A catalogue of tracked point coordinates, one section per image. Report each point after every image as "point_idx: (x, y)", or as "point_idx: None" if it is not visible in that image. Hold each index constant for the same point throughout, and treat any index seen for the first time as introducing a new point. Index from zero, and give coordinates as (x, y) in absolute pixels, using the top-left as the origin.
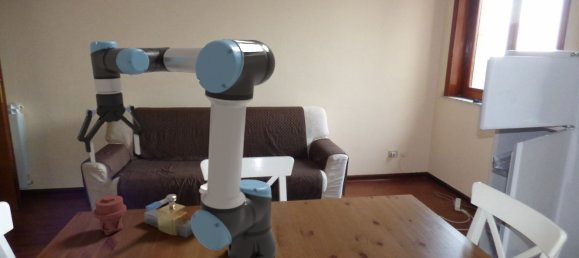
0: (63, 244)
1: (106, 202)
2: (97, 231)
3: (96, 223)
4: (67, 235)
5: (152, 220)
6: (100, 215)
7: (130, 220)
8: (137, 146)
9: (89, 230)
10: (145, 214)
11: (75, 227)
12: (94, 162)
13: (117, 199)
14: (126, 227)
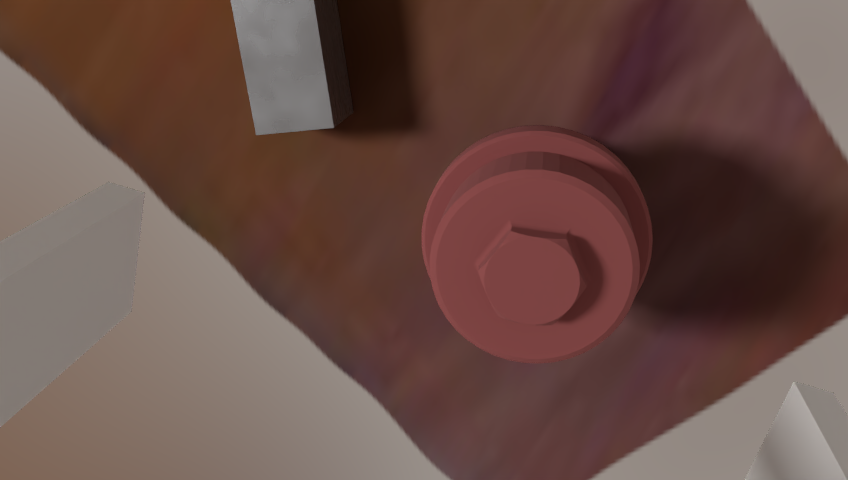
0: (806, 276)
1: (573, 246)
2: None
3: None
4: (727, 355)
5: (331, 38)
6: (642, 202)
7: (393, 220)
8: (57, 242)
9: None
10: (335, 113)
11: (644, 404)
12: (810, 390)
13: (483, 229)
14: None
